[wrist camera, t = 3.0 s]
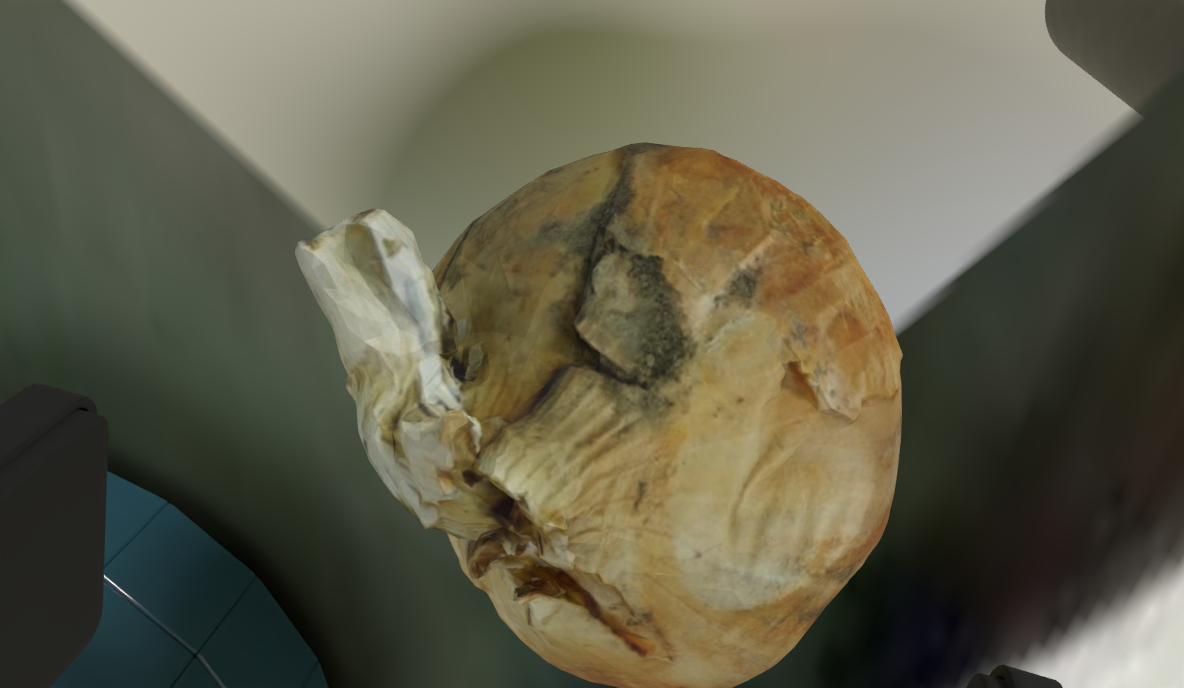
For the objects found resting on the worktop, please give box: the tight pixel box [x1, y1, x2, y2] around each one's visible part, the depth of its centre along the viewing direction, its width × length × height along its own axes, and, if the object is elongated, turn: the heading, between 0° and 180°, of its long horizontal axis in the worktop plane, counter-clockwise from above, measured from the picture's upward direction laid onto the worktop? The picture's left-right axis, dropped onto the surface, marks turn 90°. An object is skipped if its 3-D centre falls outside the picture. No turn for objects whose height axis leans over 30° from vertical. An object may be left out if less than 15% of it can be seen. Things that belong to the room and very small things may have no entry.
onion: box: [295, 143, 903, 688], centre depth 15 cm, size 8×8×8 cm
